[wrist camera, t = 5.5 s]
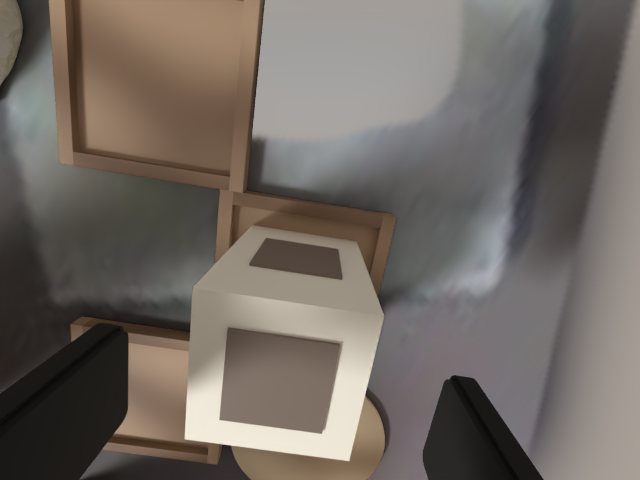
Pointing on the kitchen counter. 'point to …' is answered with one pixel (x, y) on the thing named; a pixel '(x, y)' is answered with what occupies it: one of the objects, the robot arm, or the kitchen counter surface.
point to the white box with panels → (282, 345)
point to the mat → (316, 472)
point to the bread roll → (9, 35)
